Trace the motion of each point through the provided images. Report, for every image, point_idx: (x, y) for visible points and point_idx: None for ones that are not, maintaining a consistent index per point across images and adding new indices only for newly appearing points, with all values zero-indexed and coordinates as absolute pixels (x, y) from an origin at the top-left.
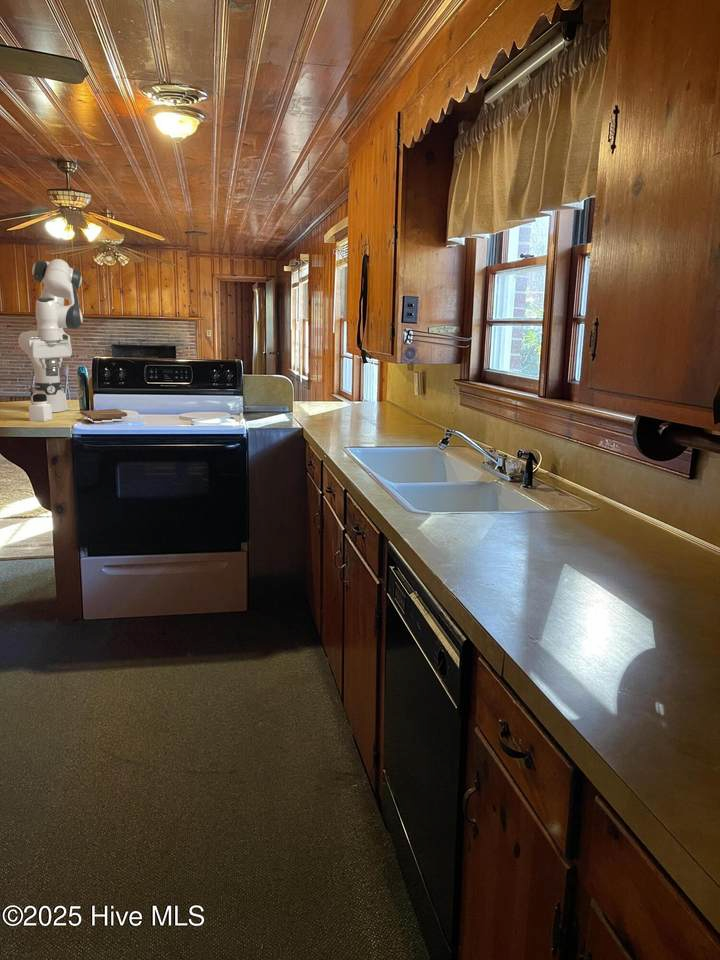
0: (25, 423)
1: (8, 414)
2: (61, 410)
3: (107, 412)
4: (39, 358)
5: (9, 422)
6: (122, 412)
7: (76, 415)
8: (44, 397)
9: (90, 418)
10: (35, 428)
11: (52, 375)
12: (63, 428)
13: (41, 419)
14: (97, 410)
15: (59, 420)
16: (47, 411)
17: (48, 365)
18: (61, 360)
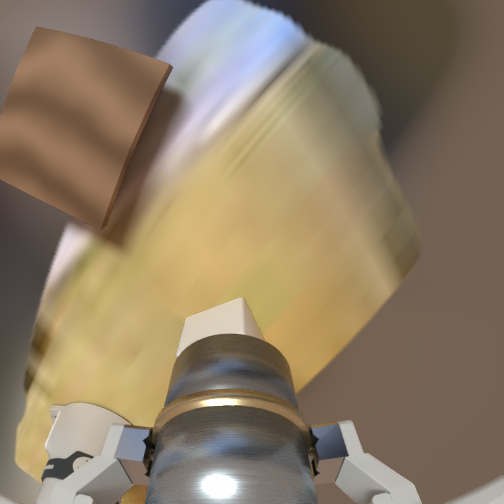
0: (313, 311)
1: None
2: (81, 405)
3: (58, 97)
4: (480, 487)
5: (323, 364)
6: (30, 54)
7: (76, 322)
8: None
9: (170, 72)
10: (381, 180)
11: (269, 346)
12: (322, 84)
13: (248, 309)
14: (47, 189)
15: (184, 276)
16: (213, 326)
17: (304, 451)
18: (71, 483)
